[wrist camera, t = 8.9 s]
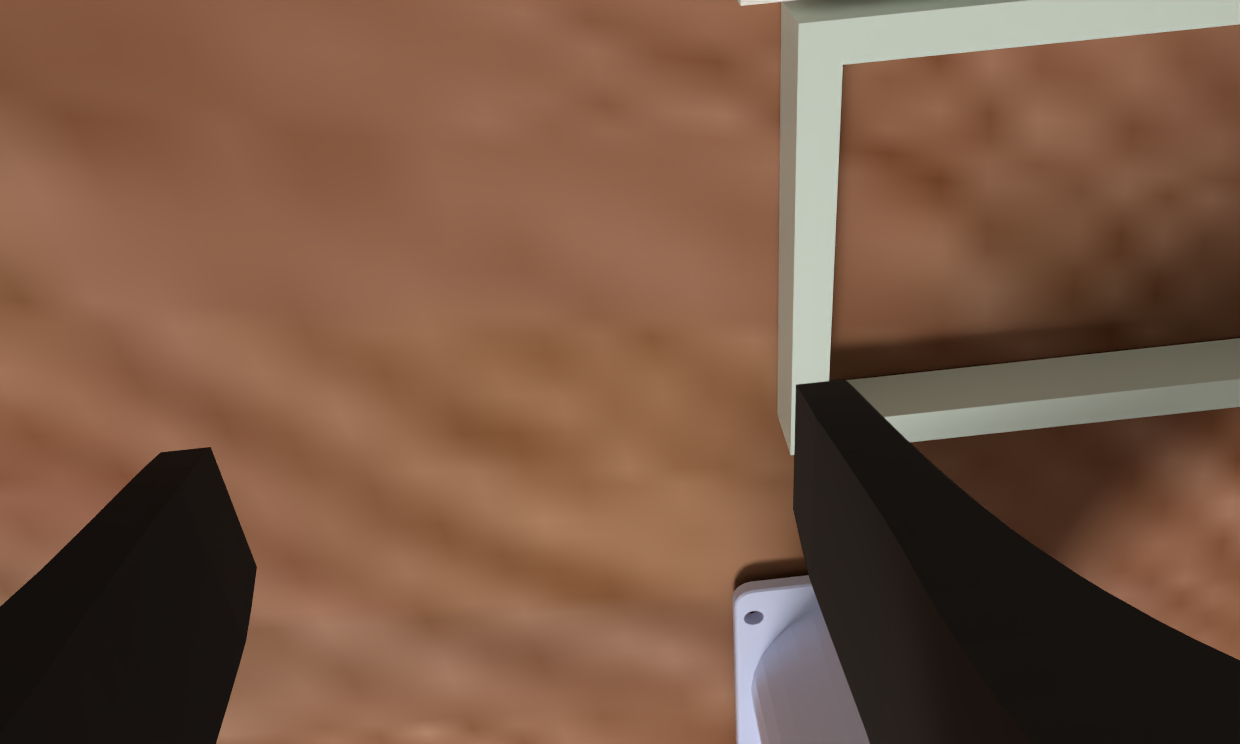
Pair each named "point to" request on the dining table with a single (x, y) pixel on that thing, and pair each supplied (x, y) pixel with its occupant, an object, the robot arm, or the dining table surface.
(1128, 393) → the pale green rectangular frame
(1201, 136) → the dining table surface
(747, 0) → the tray
